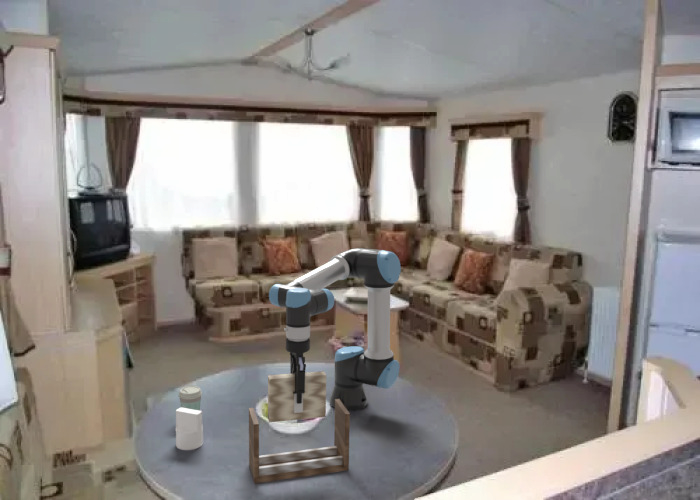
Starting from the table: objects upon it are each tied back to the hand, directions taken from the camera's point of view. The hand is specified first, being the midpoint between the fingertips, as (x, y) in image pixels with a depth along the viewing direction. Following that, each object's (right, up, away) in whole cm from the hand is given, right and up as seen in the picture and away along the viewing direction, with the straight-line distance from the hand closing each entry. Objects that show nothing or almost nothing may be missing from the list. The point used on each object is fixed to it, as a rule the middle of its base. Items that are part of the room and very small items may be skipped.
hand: (297, 409), depth 185 cm
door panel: (0, -3, 0) cm, 3 cm away
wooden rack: (0, -19, +2) cm, 19 cm away
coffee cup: (-43, -14, +34) cm, 57 cm away
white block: (-39, -16, +16) cm, 45 cm away
